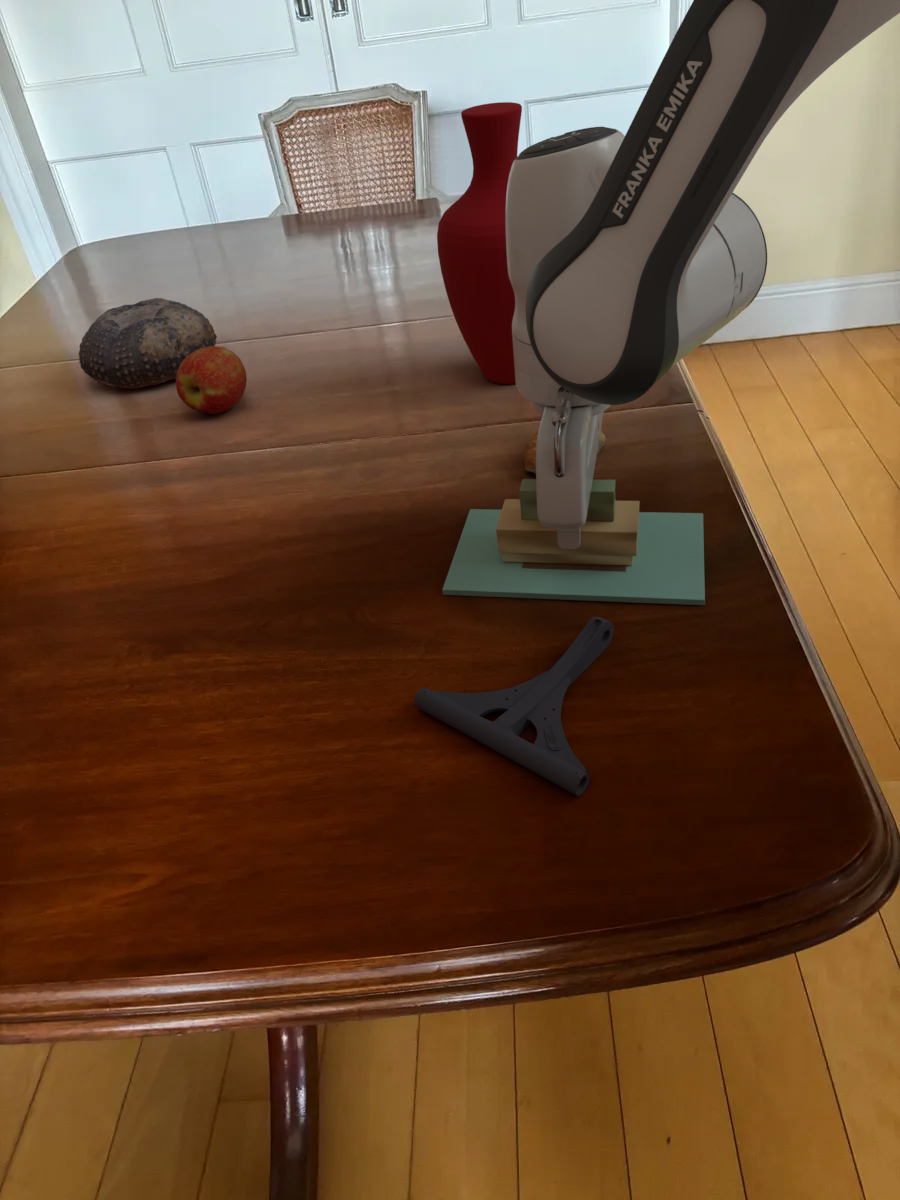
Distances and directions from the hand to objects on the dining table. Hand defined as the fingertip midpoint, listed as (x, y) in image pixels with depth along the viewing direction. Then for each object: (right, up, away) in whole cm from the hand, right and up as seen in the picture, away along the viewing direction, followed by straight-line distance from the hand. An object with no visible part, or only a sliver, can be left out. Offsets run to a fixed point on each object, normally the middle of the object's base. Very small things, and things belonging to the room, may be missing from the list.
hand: (575, 513), depth 78 cm
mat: (+1, -4, +3) cm, 4 cm away
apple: (-40, +17, +37) cm, 57 cm away
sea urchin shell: (-53, +25, +50) cm, 77 cm away
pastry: (+1, +8, +17) cm, 19 cm away
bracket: (-3, -15, -11) cm, 18 cm away
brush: (0, -3, +2) cm, 4 cm away
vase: (-3, +21, +35) cm, 41 cm away
